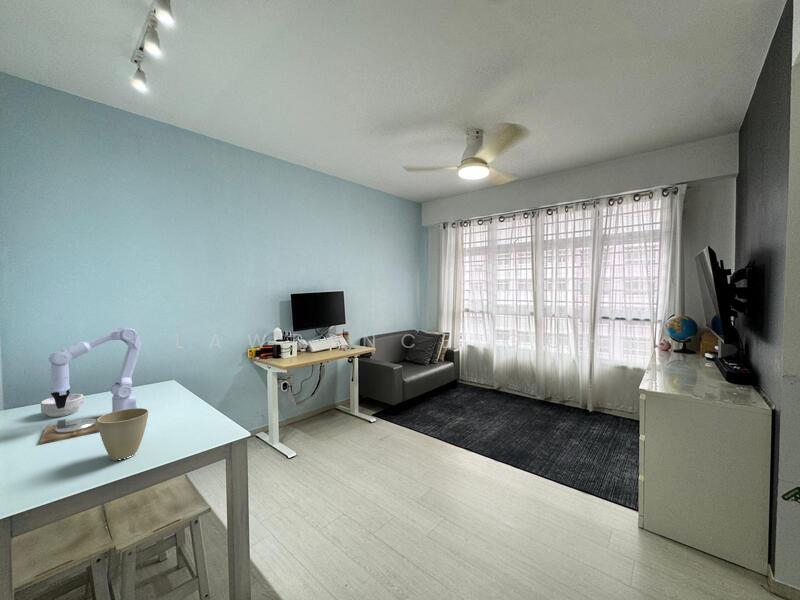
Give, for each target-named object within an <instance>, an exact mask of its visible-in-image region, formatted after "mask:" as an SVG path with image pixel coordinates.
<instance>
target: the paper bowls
mask: <svg viewBox="0 0 800 600" xmlns="http://www.w3.org/2000/svg"><path fill="white" fill-rule="evenodd" d="M84 396H85V395H84V394H82V393H70V394H69V395H68V397H67V400H66V404H65V407H64V408H60V409H58V408H57V406H56V403H55V399H54V397H53V396H51V397H50V398H49V397H48V398H45V399H43V400H42V401H41V402H40V412H41V414H46V415H47V416H48V417H50V418H51V417H52V418H58V417H59V418H60V417H65V416H69V415H72V414H74V413H76V412H77V411H78V410H79V408H80V407H83V406H84V405H85V398H84Z"/></svg>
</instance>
